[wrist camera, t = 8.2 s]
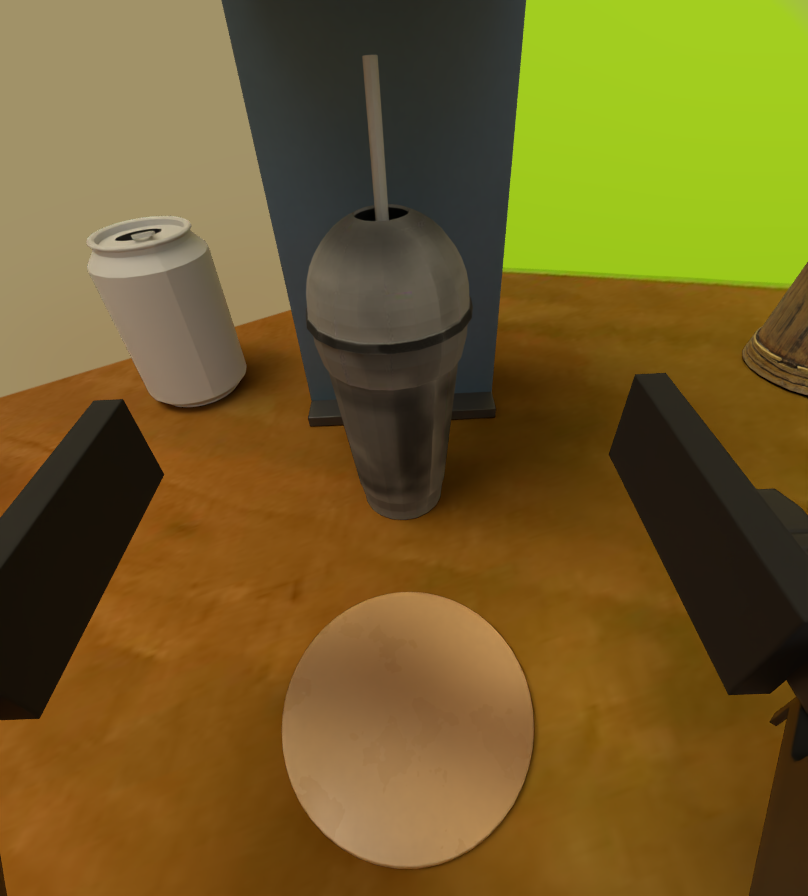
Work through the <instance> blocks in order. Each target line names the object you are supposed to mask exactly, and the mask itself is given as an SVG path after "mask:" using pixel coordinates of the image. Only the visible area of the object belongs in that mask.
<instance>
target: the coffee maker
mask: <svg viewBox="0 0 808 896" xmlns="http://www.w3.org/2000/svg"><path fill="white" fill-rule="evenodd" d="M222 4H223V8H224V13H225V18H226V22H227V27H228V31H229V36H230V39H231V44H232V49H233V53H234V58H235V62H236V66H237V71H238V76H239V80H240V84H241V89H242V93H243V98H244V102H245V107H246V111H247V115H248V120H249V124H250V129H251V133H252V137H253V142H254V146H255V151H256V155H257V160H258V164H259V169H260V173H261V178H262V182H263V186H264V191H265V195H266V200H267V204H268V209H269V213H270V218H271V222H272V226H273V231H274V235H275V240H276V244H277V249H278V253H279V257H280V262H281V266H282V271H283V275H284V280H285V284H286V289H287V293H288V297H289V301H290V306H291V311H292V315H293V320H294V324H295V329H296V333H297V338H298V342H299V346H300V351H301V355H302V360H303V364H304V369H305V373H306V377H307V382H308V386H309V391H310V395H311V400H312V402H311V407H310V412H309V416H308V420H309V424H310V426H325V425H344V423H343V420H342V416H341V413H340V410H339V406H338V403H337V399H336V396H335V392H334V389H333V385H332V382H331V378H330V375H329V372H328V370H327V369H326V367H325V366H324V364H323V362H322V360H321V357H320V355H319V353H318V350H317V348H316V346H315V342H314V338H313V335H312V334H311V333H310V332H309V331H308V329H307V326H306V308H307V299H306V282H307V276H308V270H309V266H310V263H311V261H312V258H313V255H314V253H315V251H316V249H317V248H318V246H319V244H320V242H321V241H322V239H323V238H324V237H325V235H326V234H327V233H328V232H329V230H330V229H331V228H332V227H333V226H334V225H335V224H336V223H337V222H338V221H340V220H341V219H342V218H343V217H345V216H347V215H348V214H350V213H352V212H354V211H356V210H358V209H360V208H363V207H367V206H372V205H374V194H373V181H372V169H371V157H370V144H369V132H368V120H367V107H366V95H365V83H364V70H363V58H362V56H365V55H377V56H378V70H379V84H380V99H381V113H382V127H383V142H384V156H385V170H386V185H387V199H388V204H395V205H401V206H405V207H408V208H411V209H414V210H416V211H418V212H421V213H422V214H424V215H426V216H427V217H429V218H431V219H432V220H433V221H434V222H435V223H437V224H438V225H439V226H440V227H441V228H442V229H443V231H444V232H445V233H446V234H447V236H448V237H449V238H450V239H451V241H452V242H453V243H454V245H455V246H456V248H457V250H458V252H459V254H460V255H461V257H462V260H463V263H464V265H465V268H466V271H467V277H468V282H469V296H470V297H471V300H472V305H473V310H472V319H471V320H470V322H469V323H468V325H467V336H466V340H465V344H464V348H463V352H462V356H461V358H460V360H459V361H458V367H457V375H456V383H455V391H454V399H453V408H452V416H451V419H468V418H488V417H495V413H496V407H495V403H494V399H493V396H492V382H493V370H494V359H495V348H496V336H497V325H498V313H499V302H500V291H501V279H502V268H503V257H504V245H505V234H506V222H507V210H508V200H509V188H510V176H511V166H512V154H513V142H514V131H515V119H516V108H517V97H518V86H519V73H520V63H521V52H522V40H523V28H524V17H525V6H526V0H222Z"/></svg>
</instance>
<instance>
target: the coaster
mask: <svg viewBox="0 0 808 896" xmlns="http://www.w3.org/2000/svg"><path fill="white" fill-rule="evenodd" d="M533 738H534V718H533V708H532V702H531V696H530V692H529V689H528V685H527V682H526V679H525V676H524V674H523V671H522V669H521V667H520V664H519V662H518V660H517V659H516V657H515V655H514V654H513V652H512V650H511V648H510V647H509V646H508V644H507V643H506V642H505V640H504V639H503V638H502V636H501V635H500V634H499V633H498V632H497V631H496V630H495V629H494V628H493V627H492V626H491V625H490V624H489V623H488V622H487V621H486V620H484V619H483V618H482V617H481V616H479V615H478V614H477V613H475V612H474V611H472V610H470V609H469V608H467V607H465V606H463V605H461V604H459V603H457V602H455V601H453V600H450V599H447V598H444V597H441V596H437V595H433V594H428V593H418V592H399V593H392V594H386V595H382V596H378V597H374V598H371V599H369V600H366V601H364V602H361V603H359V604H357V605H355V606H353V607H351V608H349V609H348V610H346V611H345V612H343V613H342V614H340V615H339V616H337V617H336V618H335V619H334V620H333V621H331V622H330V623H329V624H328V625H327V626H326V627H325V628H324V629H323V630H322V631H321V632H320V633H319V634H318V635H317V636H316V637H315V638H314V640H313V641H312V643H311V644H310V645H309V647H308V648H307V649H306V651H305V652H304V654H303V656H302V658H301V659H300V661H299V663H298V665H297V667H296V669H295V672H294V674H293V676H292V678H291V681H290V685H289V688H288V691H287V694H286V699H285V704H284V710H283V719H282V745H283V753H284V759H285V764H286V769H287V772H288V775H289V778H290V781H291V784H292V787H293V789H294V791H295V793H296V795H297V798H298V800H299V802H300V804H301V805H302V807H303V808H304V810H305V811H306V813H307V814H308V816H309V817H310V819H311V820H312V821H313V823H314V824H315V825H316V826H317V827H318V828H319V829H320V830H321V831H322V832H323V834H324V835H325V836H326V837H327V838H329V839H330V840H331V841H332V842H334V843H335V844H336V845H337V846H339V847H340V848H341V849H343V850H344V851H346V852H348V853H350V854H352V855H353V856H355V857H357V858H359V859H361V860H364V861H367V862H370V863H372V864H375V865H378V866H384V867H390V868H395V869H418V868H424V867H430V866H436V865H439V864H441V863H444V862H447V861H450V860H453V859H455V858H457V857H459V856H461V855H462V854H464V853H466V852H468V851H470V850H471V849H473V848H474V847H476V846H477V845H478V844H479V843H481V842H482V841H483V840H484V839H486V838H487V837H488V836H489V835H490V834H491V833H492V832H493V831H494V830H495V829H496V828H497V826H498V825H499V824H500V823H501V822H502V821H503V819H504V818H505V816H506V815H507V813H508V812H509V811H510V809H511V808H512V806H513V805H514V802H515V800H516V798H517V796H518V794H519V792H520V790H521V788H522V786H523V783H524V780H525V777H526V775H527V772H528V769H529V765H530V760H531V755H532V749H533Z"/></svg>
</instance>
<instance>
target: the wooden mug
mask: <svg viewBox="0 0 808 896" xmlns="http://www.w3.org/2000/svg"><path fill="white" fill-rule="evenodd" d="M742 352H743V359H744V361H745V362H746V363H747V365H748V366H749V367H750V368H751V369H752V370H754V371H755V372H756V373H757V374H759V375H760V376H762V377H764V378H766V379H768V380H769V381H771V382H773V383H775V384H777V385H779V386H781V387H784V388H786V389H788V390H791V391H794V392H797V393H801V394H804V395H807V396H808V262H807V264H806V265H805V267H804V268H803V270H802V271H801V273H800V274H799V275H798V277H797V278H796V279H795V281H794V282H793V284H792V285H791V287H790V288H789V289H788V291H787V292H786V294H785V295H784V297H783V298H782V299H781V301H780V302H779V304H778V305H777V307H776V308H775V309H774V311H773V312H772V314H771V315H770V317H769V318H768V319H767V321H766V322H765V324H764V325H763V326H762V327H761V328H759V329H758V330H757V331H756V332H755V334H754V335H753V336H752V338H751V339H750V340H749V342H748V343H747V344H746V346H745V348H744V349H743V351H742Z"/></svg>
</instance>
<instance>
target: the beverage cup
mask: <svg viewBox="0 0 808 896" xmlns="http://www.w3.org/2000/svg"><path fill="white" fill-rule="evenodd" d="M362 58H363V70H364V83H365V95H366V107H367V120H368V132H369V144H370V157H371V169H372V181H373V194H374V205H372V206H367V207H363V208H360V209H358V210H356V211H354V212H352V213H350V214H348V215H347V216H345V217H343V218H342V219H341V220H340V221H338V222H337V223H336V224H335V225H334V226H333V227H332V228H331V229H330V230H329V232H328V233H327V234H326V235H325V237H324V238H323V239H322V241H321V242H320V244H319V246H318V248H317V249H316V251H315V253H314V255H313V258H312V261H311V263H310V266H309V270H308V276H307V282H306V299H307V308H306V326H307V329H308V331H309V332H310V333H311V334H312V335H313V338H314V342H315V346H316V348H317V350H318V353H319V355H320V357H321V360H322V362H323V364H324V366H325V367H326V369H327V370H328V372H329V375H330V378H331V382H332V385H333V389H334V392H335V396H336V399H337V403H338V406H339V410H340V413H341V416H342V420H343V423H344V427H345V430H346V434H347V437H348V441H349V444H350V448H351V451H352V454H353V458H354V461H355V465H356V468H357V472H358V475H359V479H360V482H361V485H362V486H363V488H364V491H365V494H366V497H367V502H368V503H369V505H370V506H371V508H372V509H373V510H375V511H376V512H377V513H379V514H380V515H382V516H385V517H388V518H391V519H400V520H406V519H412V518H417V517H419V516H421V515H424V514H426V513H428V512H429V511H430V510H431V509H432V508H433V507H434V506H436V504H437V502H438V500H439V498H440V495H441V487H442V481H443V479H444V473H445V465H446V456H447V448H448V440H449V432H450V424H451V416H452V408H453V399H454V391H455V383H456V375H457V367H458V361H459V360H460V358H461V356H462V352H463V348H464V344H465V340H466V336H467V325H468V323H469V322H470V320H471V319H472V310H473V305H472V300H471V297H470V296H469V282H468V277H467V271H466V268H465V265H464V263H463V260H462V257H461V255H460V254H459V252H458V250H457V248H456V246H455V245H454V243H453V242H452V241H451V239H450V238H449V237H448V236H447V234H446V233H445V232H444V231H443V229H442V228H441V227H440V226H439V225H438V224H437V223H435V222H434V221H433V220H432V219H431V218H429V217H427V216H426V215H424V214H422V213H421V212H418V211H416V210H414V209H411V208H408V207H405V206H401V205H395V204H388V199H387V185H386V170H385V156H384V142H383V127H382V113H381V99H380V84H379V70H378V56H377V55H365V56H362Z"/></svg>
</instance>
